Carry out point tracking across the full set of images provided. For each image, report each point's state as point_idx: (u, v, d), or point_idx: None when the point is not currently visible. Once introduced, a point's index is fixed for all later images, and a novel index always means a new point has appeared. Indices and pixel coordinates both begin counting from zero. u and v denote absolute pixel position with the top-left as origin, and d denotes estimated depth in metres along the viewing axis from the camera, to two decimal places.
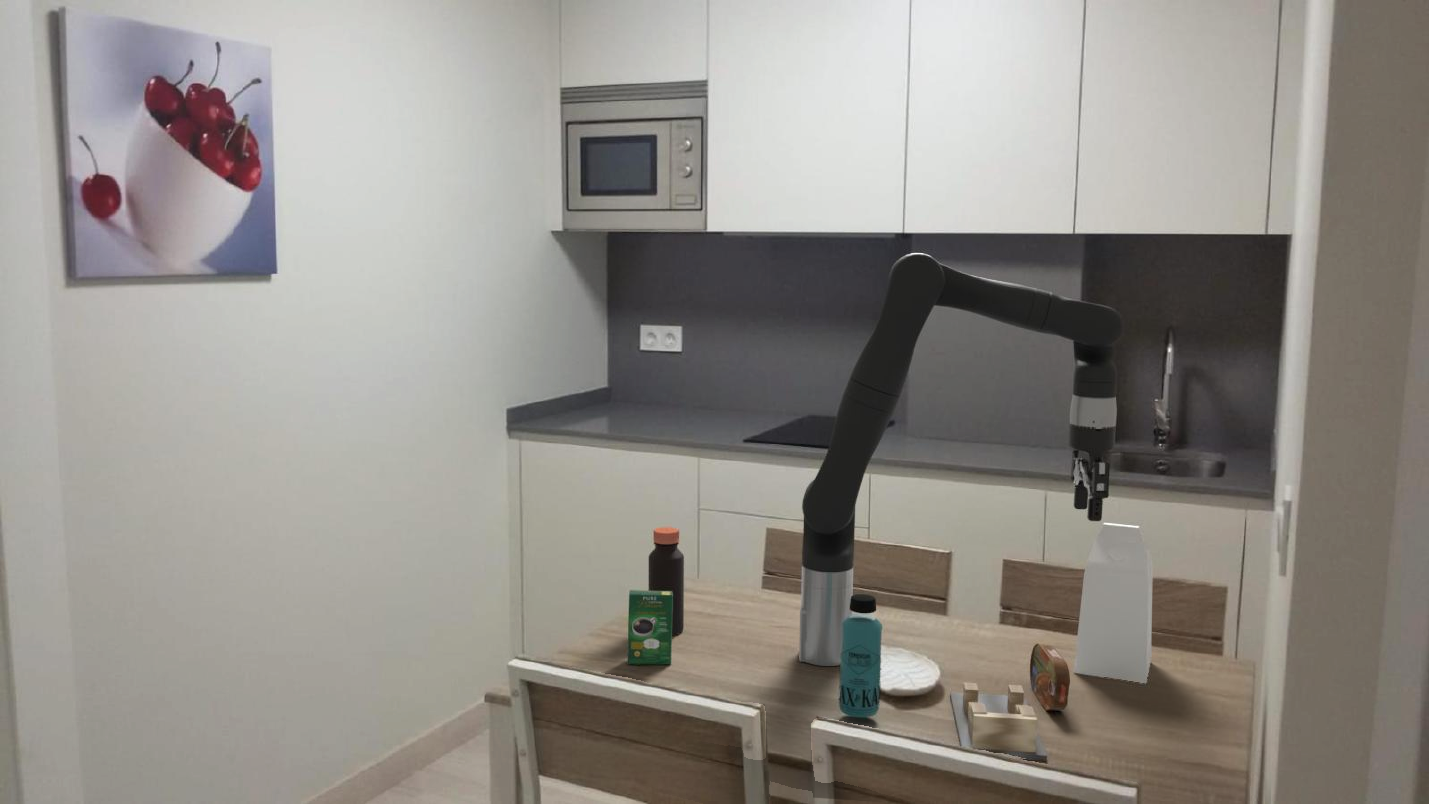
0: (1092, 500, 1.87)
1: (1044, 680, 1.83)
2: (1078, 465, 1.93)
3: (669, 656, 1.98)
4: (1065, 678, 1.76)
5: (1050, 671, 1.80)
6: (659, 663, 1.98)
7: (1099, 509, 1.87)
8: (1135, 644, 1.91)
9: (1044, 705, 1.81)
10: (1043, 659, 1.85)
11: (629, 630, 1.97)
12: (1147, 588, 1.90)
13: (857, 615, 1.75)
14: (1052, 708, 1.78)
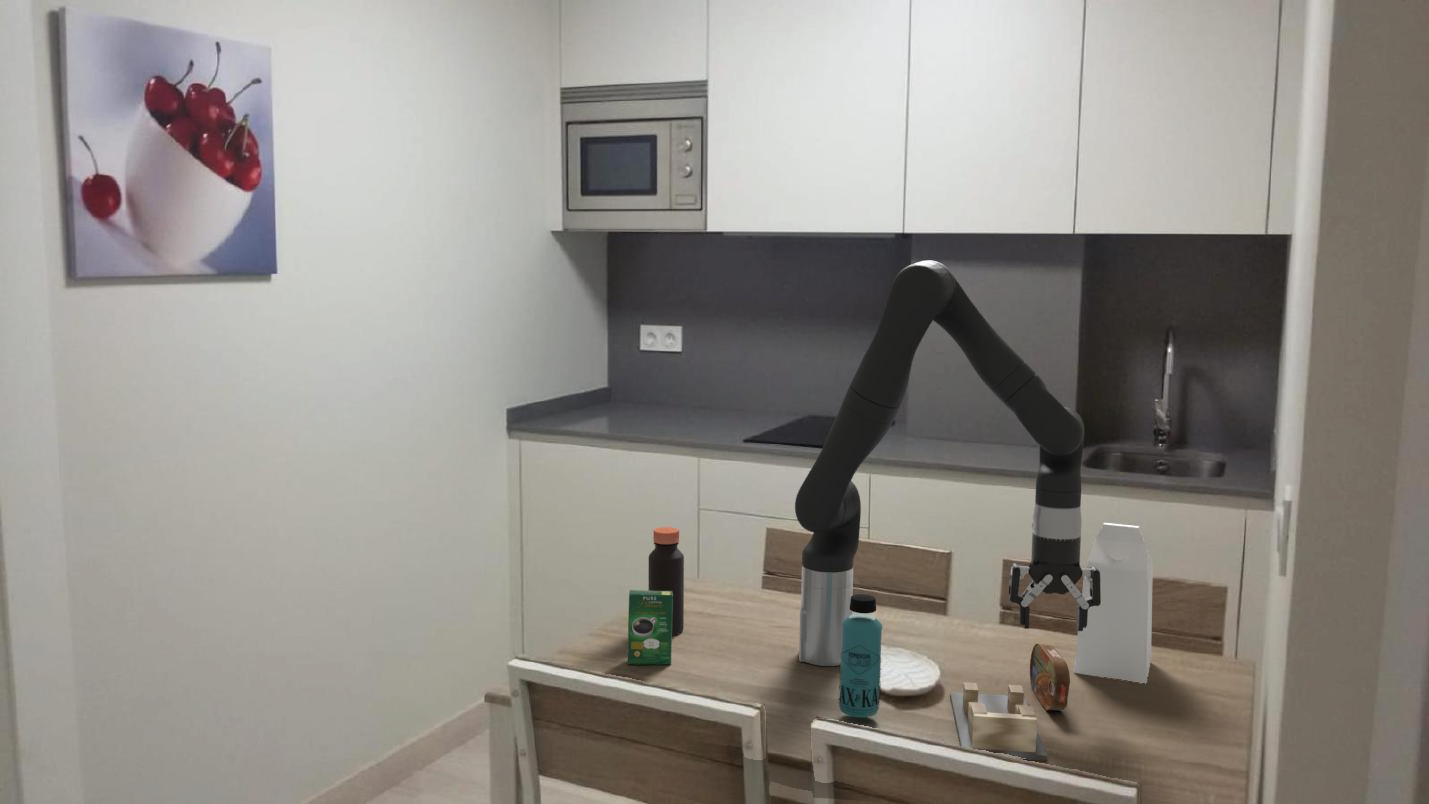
0: (1087, 609, 1.80)
1: (1044, 680, 1.83)
2: (1050, 581, 1.79)
3: (669, 656, 1.98)
4: (1065, 678, 1.76)
5: (1050, 671, 1.80)
6: (659, 663, 1.98)
7: None
8: (1135, 644, 1.91)
9: (1044, 705, 1.81)
10: (1043, 659, 1.85)
11: (629, 630, 1.97)
12: (1147, 588, 1.90)
13: (857, 615, 1.75)
14: (1052, 708, 1.78)
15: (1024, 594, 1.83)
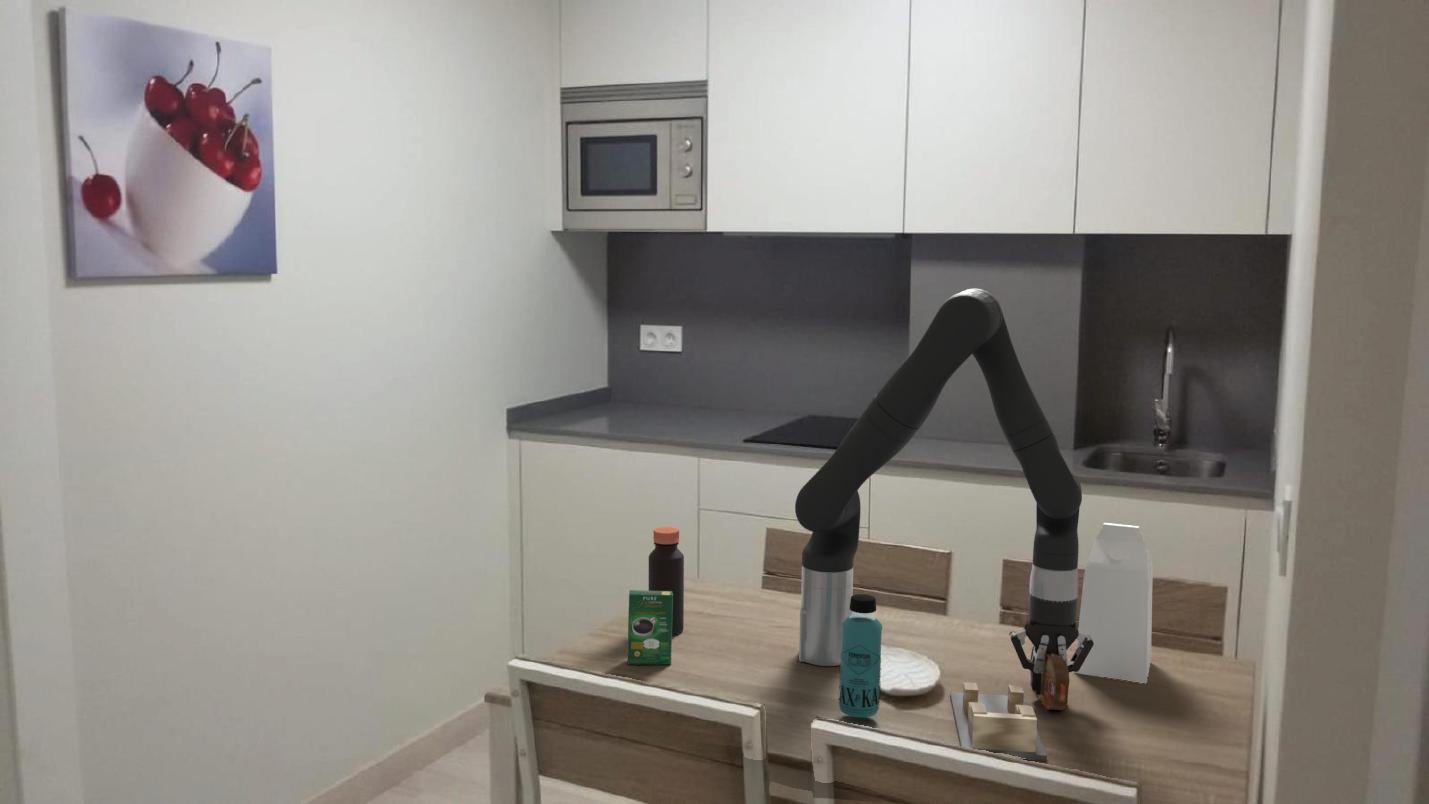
0: None
1: (1044, 679, 1.83)
2: None
3: (669, 656, 1.98)
4: (1064, 677, 1.76)
5: (1050, 671, 1.80)
6: (659, 663, 1.98)
7: None
8: (1135, 644, 1.91)
9: (1045, 705, 1.81)
10: None
11: (629, 630, 1.97)
12: (1147, 588, 1.90)
13: (857, 615, 1.75)
14: (1052, 707, 1.78)
15: (1033, 660, 1.84)
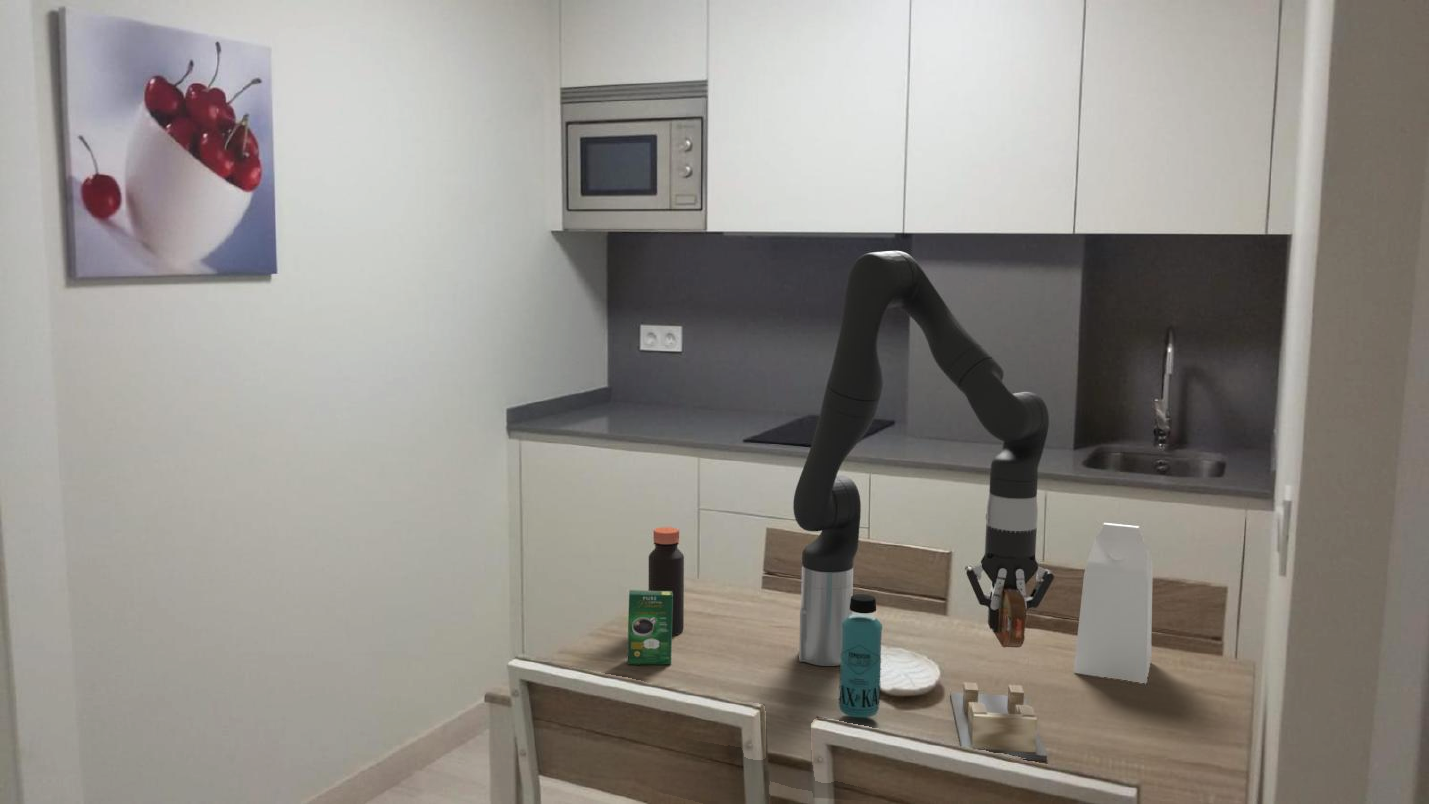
0: None
1: (1002, 616, 1.72)
2: (1006, 573, 1.70)
3: (669, 656, 1.98)
4: (1021, 612, 1.65)
5: (1007, 606, 1.69)
6: (659, 663, 1.98)
7: None
8: (1135, 644, 1.91)
9: (1001, 642, 1.70)
10: None
11: (629, 630, 1.97)
12: (1147, 588, 1.90)
13: (857, 615, 1.75)
14: (1009, 644, 1.67)
15: (991, 596, 1.73)
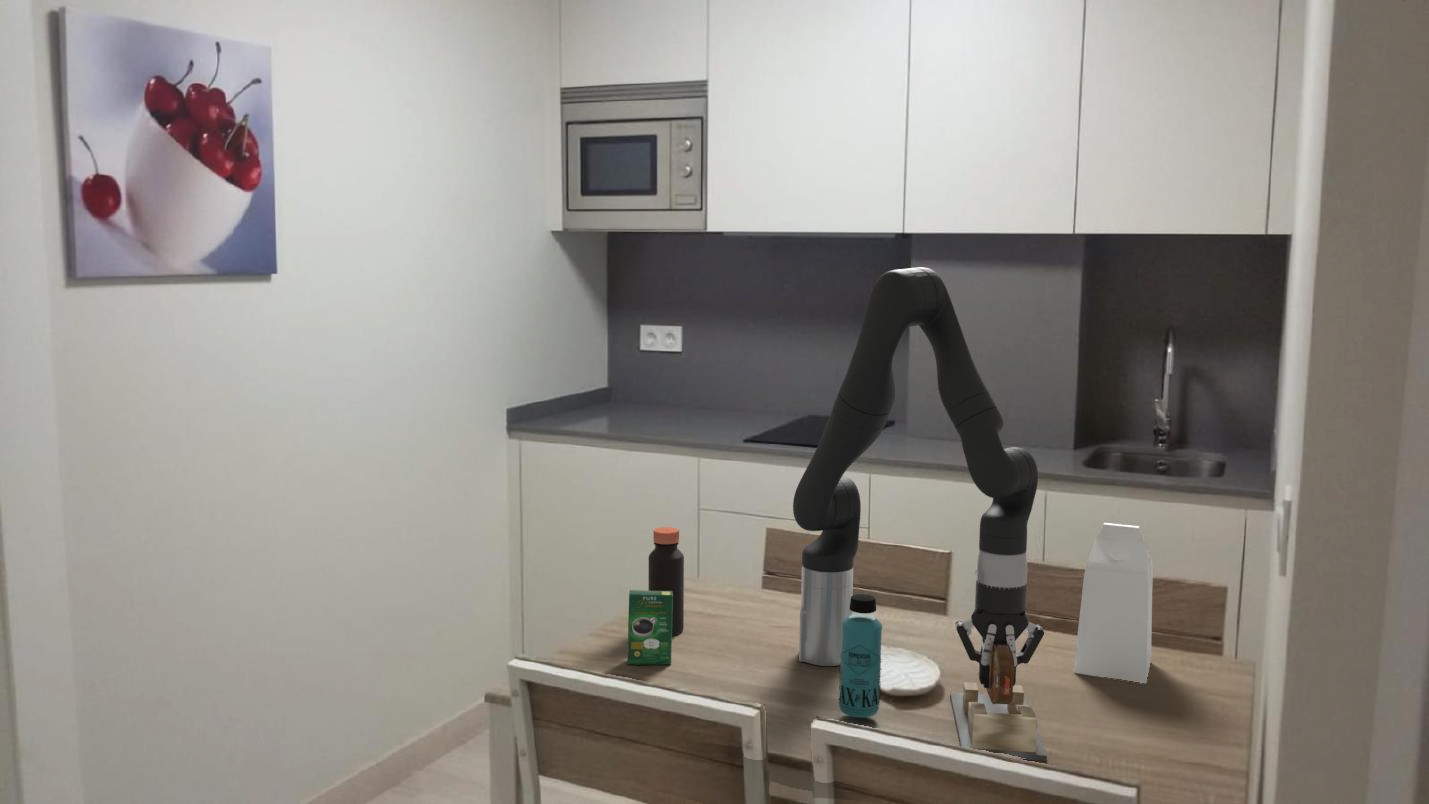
0: (1015, 667, 1.71)
1: (992, 672, 1.72)
2: (995, 629, 1.70)
3: (669, 656, 1.98)
4: (1009, 669, 1.65)
5: (996, 662, 1.69)
6: (659, 663, 1.98)
7: None
8: (1136, 644, 1.91)
9: (991, 698, 1.70)
10: None
11: (629, 630, 1.97)
12: (1147, 588, 1.90)
13: (857, 615, 1.75)
14: (997, 701, 1.66)
15: (981, 651, 1.73)
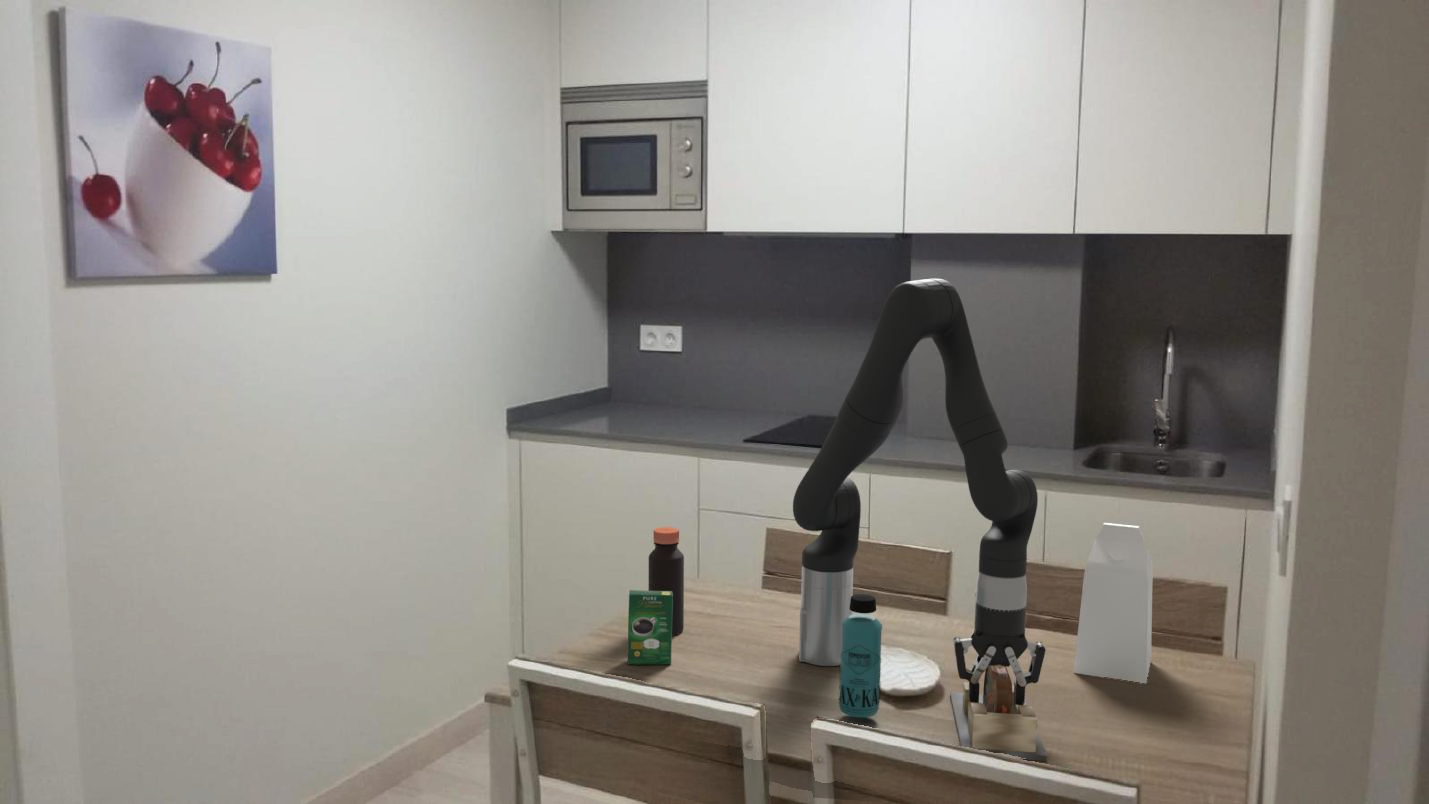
0: (1024, 686, 1.71)
1: (991, 700, 1.73)
2: (994, 652, 1.70)
3: (669, 656, 1.98)
4: (1007, 699, 1.66)
5: (995, 691, 1.69)
6: (659, 663, 1.98)
7: None
8: (1135, 644, 1.91)
9: None
10: (992, 677, 1.74)
11: (629, 630, 1.97)
12: (1147, 588, 1.90)
13: (857, 615, 1.75)
14: None
15: (973, 669, 1.73)
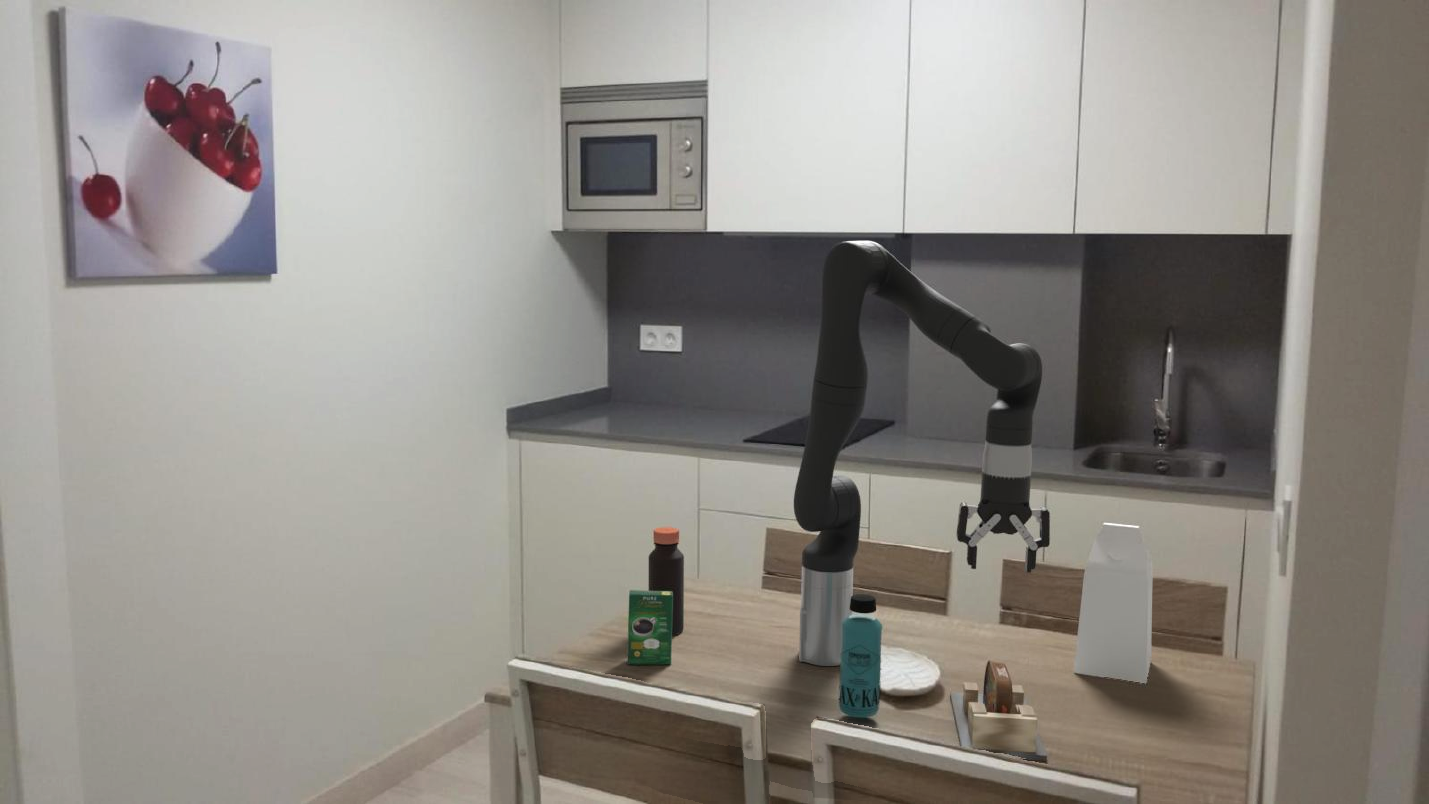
0: (1035, 551, 1.76)
1: (991, 700, 1.73)
2: (998, 520, 1.76)
3: (669, 656, 1.98)
4: (1007, 699, 1.66)
5: (995, 691, 1.69)
6: (659, 663, 1.98)
7: None
8: (1135, 644, 1.91)
9: None
10: (992, 677, 1.74)
11: (629, 630, 1.97)
12: (1147, 588, 1.90)
13: (857, 615, 1.75)
14: None
15: (972, 534, 1.79)
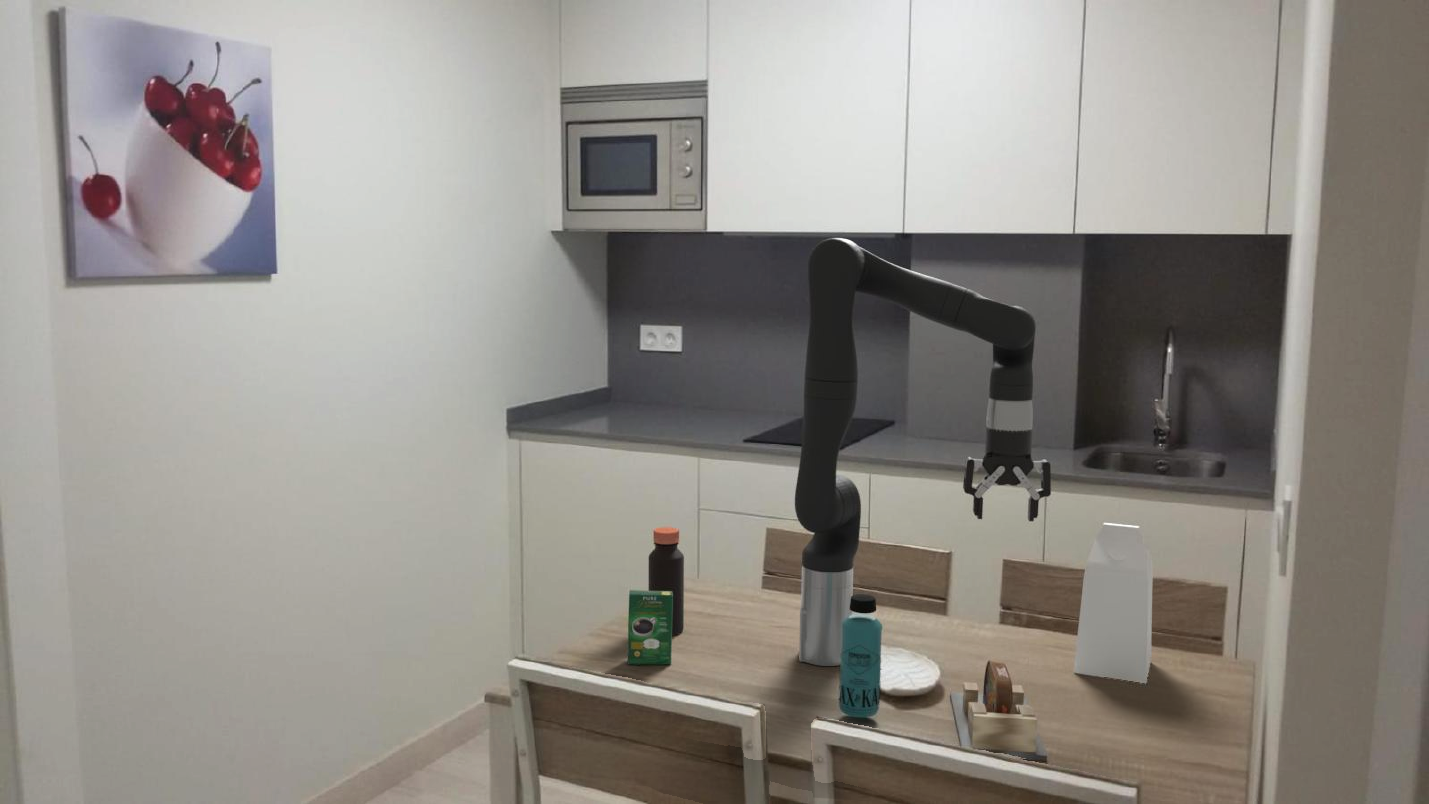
0: (1037, 500, 1.88)
1: (991, 700, 1.73)
2: (1002, 472, 1.87)
3: (669, 656, 1.98)
4: (1007, 699, 1.66)
5: (995, 691, 1.69)
6: (659, 663, 1.98)
7: None
8: (1135, 644, 1.91)
9: None
10: (992, 677, 1.74)
11: (629, 630, 1.97)
12: (1147, 588, 1.90)
13: (857, 615, 1.75)
14: None
15: (978, 486, 1.91)
